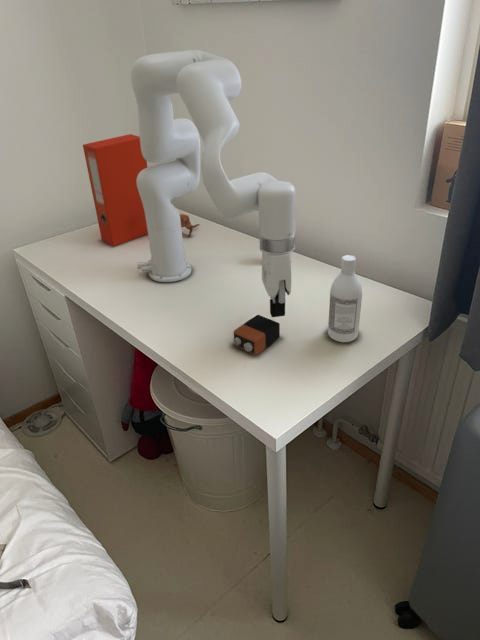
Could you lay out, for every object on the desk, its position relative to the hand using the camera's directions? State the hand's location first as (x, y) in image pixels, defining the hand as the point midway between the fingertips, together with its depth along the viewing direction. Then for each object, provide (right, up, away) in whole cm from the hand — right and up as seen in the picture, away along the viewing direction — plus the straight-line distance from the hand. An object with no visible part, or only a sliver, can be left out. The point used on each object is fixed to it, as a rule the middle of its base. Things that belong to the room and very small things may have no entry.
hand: (277, 314), depth 116 cm
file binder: (-47, +28, +58) cm, 80 cm away
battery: (-2, -2, +3) cm, 4 cm away
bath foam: (+15, -5, +2) cm, 16 cm away
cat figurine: (-29, +27, +56) cm, 69 cm away
